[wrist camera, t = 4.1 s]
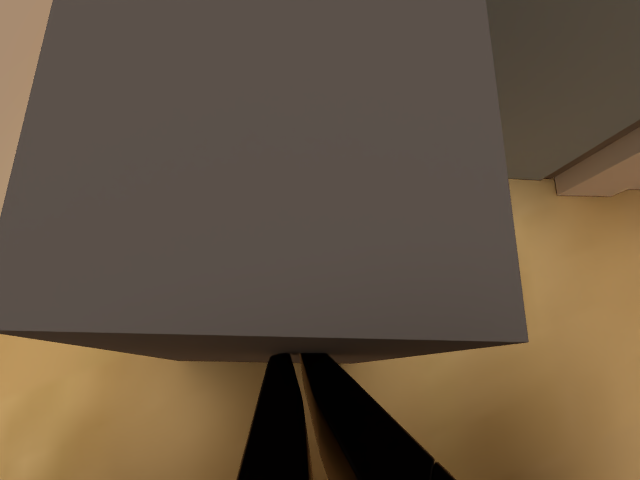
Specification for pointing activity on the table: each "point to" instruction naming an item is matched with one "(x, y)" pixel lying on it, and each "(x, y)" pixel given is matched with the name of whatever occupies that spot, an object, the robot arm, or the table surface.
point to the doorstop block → (263, 182)
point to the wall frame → (605, 170)
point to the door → (564, 79)
